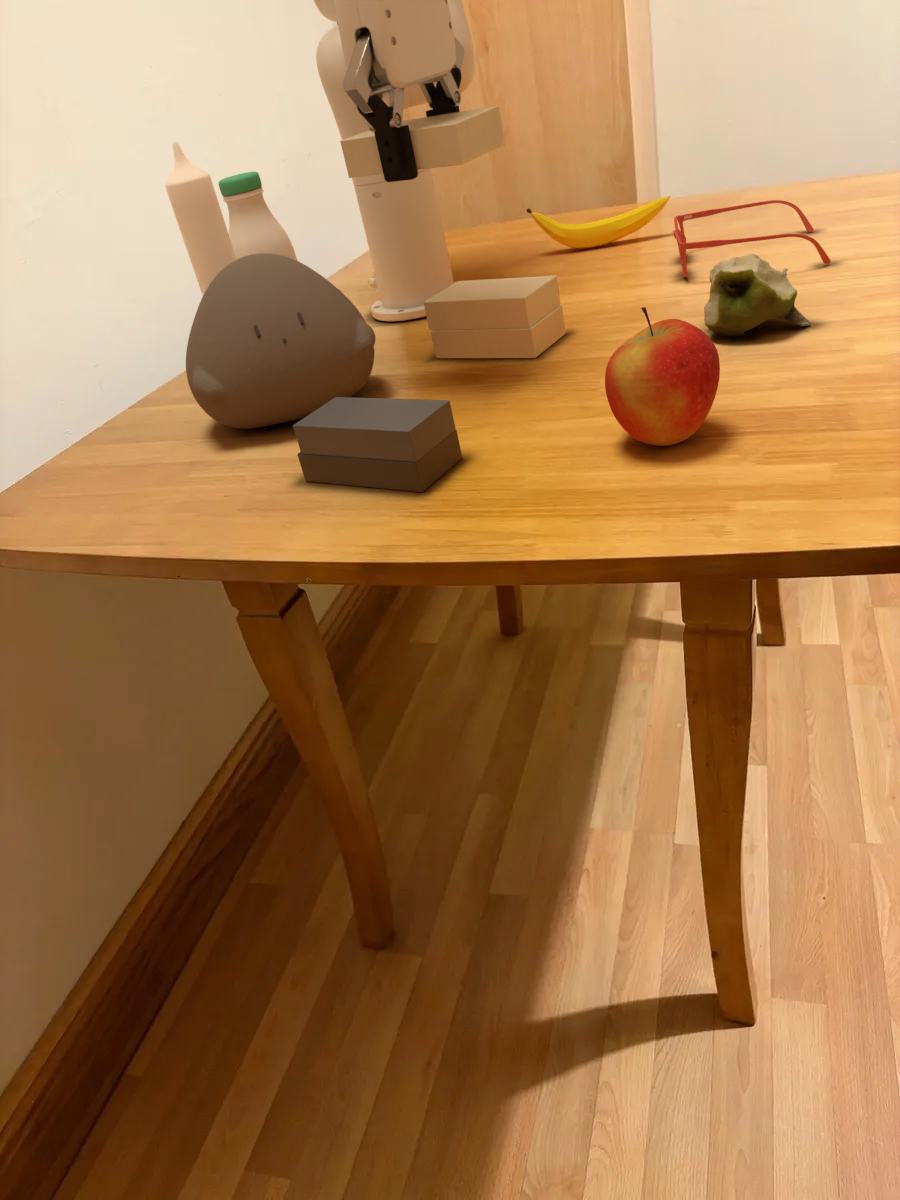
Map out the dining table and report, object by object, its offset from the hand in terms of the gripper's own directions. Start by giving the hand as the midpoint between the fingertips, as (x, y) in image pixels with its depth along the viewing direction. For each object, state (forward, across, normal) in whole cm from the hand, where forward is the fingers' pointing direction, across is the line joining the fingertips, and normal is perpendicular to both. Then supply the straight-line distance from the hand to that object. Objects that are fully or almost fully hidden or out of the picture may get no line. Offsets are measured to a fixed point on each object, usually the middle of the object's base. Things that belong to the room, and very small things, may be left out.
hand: (426, 166), depth 78 cm
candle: (+20, +4, -26) cm, 33 cm away
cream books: (+19, -8, -1) cm, 21 cm away
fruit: (+19, -12, +24) cm, 33 cm away
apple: (+19, +11, +25) cm, 33 cm away
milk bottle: (+20, -7, -30) cm, 37 cm away
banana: (+20, -46, -7) cm, 51 cm away
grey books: (+19, +20, +4) cm, 28 cm away
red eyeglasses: (+20, -36, +16) cm, 44 cm away
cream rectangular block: (0, 0, 0) cm, 0 cm away
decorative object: (+19, +9, -16) cm, 26 cm away
